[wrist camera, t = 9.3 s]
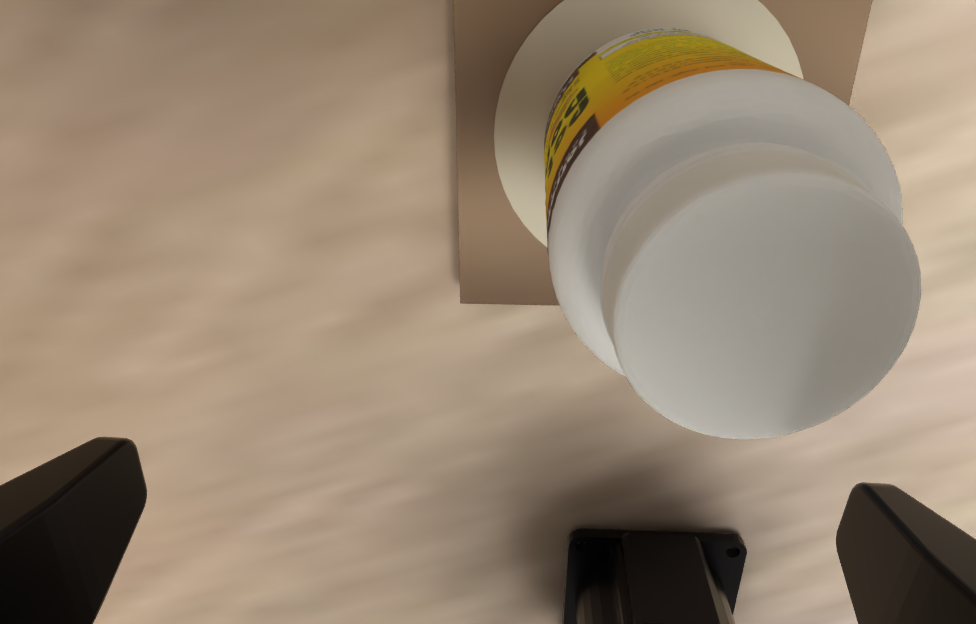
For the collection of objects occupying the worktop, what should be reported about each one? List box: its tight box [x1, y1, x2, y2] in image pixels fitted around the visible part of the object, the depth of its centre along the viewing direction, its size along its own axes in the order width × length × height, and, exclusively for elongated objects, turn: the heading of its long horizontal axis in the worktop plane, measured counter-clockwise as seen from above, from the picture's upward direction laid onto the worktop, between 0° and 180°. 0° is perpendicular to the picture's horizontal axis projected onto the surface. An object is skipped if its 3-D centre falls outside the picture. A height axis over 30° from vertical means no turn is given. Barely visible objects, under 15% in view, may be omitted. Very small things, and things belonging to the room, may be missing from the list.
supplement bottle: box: [544, 28, 921, 439], centre depth 14 cm, size 6×6×10 cm
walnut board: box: [453, 0, 872, 305], centre depth 19 cm, size 10×10×1 cm
